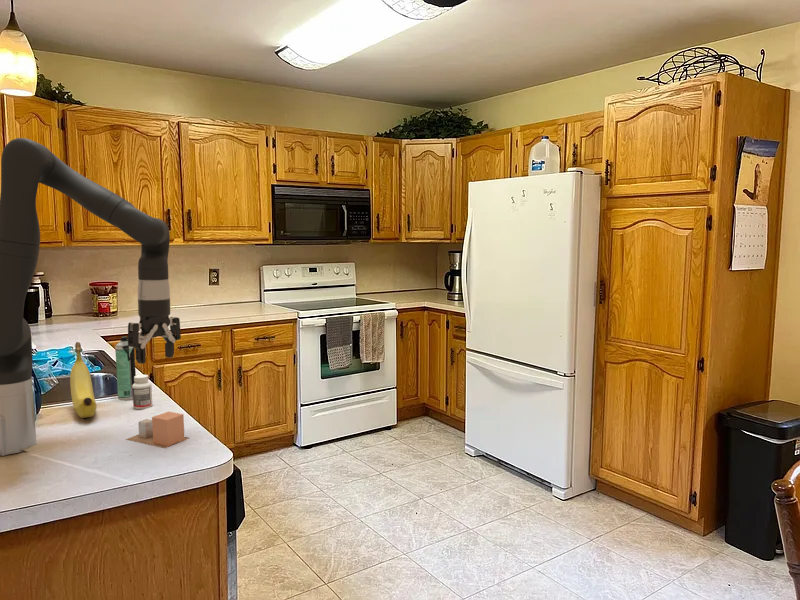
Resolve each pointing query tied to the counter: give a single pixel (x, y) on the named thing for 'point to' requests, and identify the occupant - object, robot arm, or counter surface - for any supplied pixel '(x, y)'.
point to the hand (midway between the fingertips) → (155, 360)
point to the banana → (82, 387)
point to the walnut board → (150, 441)
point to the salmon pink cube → (168, 428)
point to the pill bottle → (142, 392)
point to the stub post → (145, 428)
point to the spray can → (125, 369)
